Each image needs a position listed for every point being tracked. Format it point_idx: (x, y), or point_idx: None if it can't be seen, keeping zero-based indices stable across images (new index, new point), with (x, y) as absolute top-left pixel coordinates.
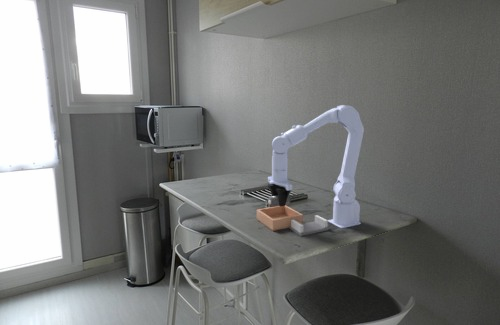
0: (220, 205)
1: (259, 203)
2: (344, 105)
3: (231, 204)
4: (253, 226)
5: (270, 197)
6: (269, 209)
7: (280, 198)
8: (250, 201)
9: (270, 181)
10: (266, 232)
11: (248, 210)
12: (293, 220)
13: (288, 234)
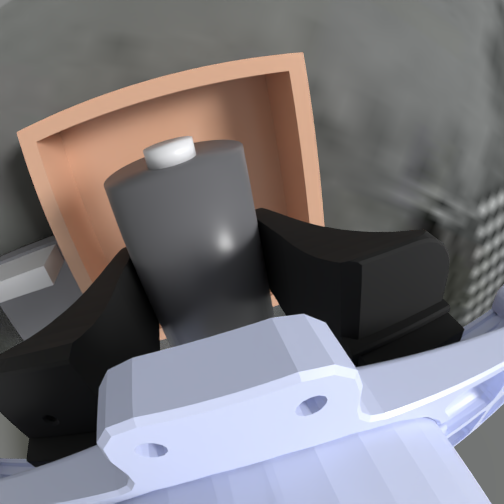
0: (491, 5)
1: (470, 175)
2: None
3: (494, 50)
4: (162, 11)
5: (178, 175)
6: (298, 163)
7: (81, 299)
8: (496, 146)
9: (268, 416)
10: (44, 80)
11: (423, 80)
12: (40, 279)
13: (7, 207)
